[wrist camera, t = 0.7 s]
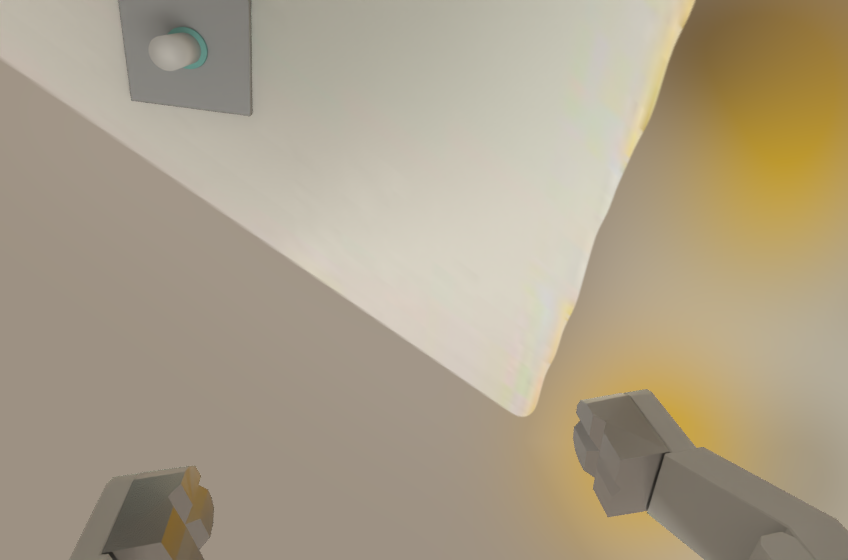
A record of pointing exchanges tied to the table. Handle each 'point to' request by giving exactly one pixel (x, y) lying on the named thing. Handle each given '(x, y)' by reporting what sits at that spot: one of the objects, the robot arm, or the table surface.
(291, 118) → the table surface
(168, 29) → the shaft stand
